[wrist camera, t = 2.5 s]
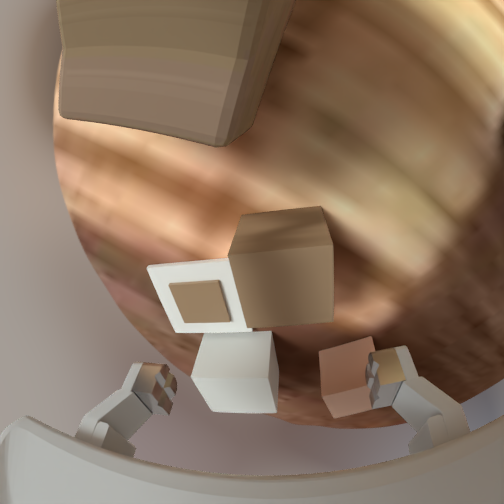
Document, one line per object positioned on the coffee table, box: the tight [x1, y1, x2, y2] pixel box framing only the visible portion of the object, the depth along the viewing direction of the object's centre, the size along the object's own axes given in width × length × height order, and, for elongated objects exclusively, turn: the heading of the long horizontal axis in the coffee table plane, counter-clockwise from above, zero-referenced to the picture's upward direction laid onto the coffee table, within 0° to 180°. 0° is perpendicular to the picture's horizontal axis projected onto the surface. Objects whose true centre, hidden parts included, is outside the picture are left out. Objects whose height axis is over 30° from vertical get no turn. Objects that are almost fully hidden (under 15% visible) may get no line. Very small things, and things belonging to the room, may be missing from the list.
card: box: [147, 258, 253, 333], centre depth 21 cm, size 7×7×1 cm
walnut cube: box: [228, 206, 334, 328], centre depth 16 cm, size 5×5×5 cm
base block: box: [191, 331, 279, 413], centre depth 22 cm, size 6×6×5 cm
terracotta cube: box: [319, 336, 375, 418], centre depth 22 cm, size 5×5×5 cm
